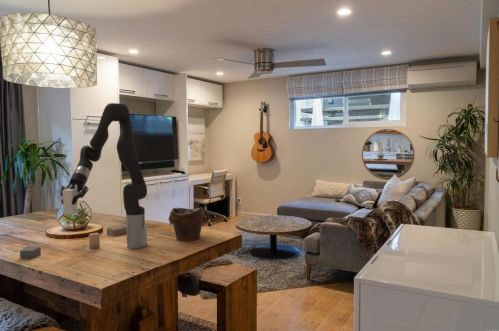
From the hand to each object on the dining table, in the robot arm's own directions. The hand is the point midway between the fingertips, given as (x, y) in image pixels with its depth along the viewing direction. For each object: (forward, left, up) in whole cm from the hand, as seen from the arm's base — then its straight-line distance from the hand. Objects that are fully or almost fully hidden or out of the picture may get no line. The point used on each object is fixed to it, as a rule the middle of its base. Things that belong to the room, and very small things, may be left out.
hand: (68, 203), depth 175 cm
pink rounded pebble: (-9, -7, -24) cm, 27 cm away
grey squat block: (+15, +8, -24) cm, 29 cm away
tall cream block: (0, -2, -5) cm, 6 cm away
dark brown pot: (-53, -26, -24) cm, 64 cm away
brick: (-11, -36, -25) cm, 45 cm away
